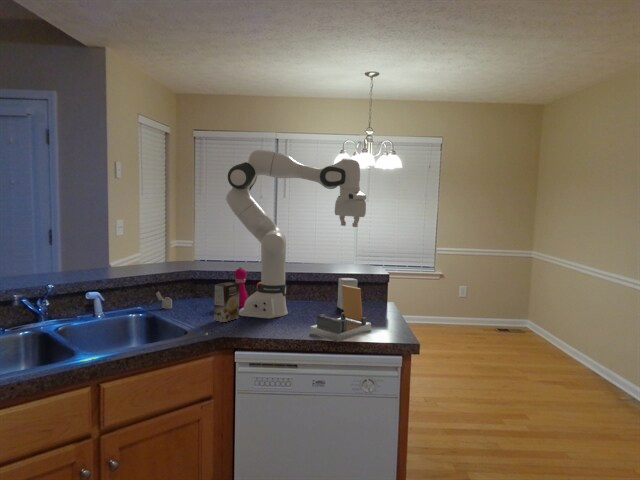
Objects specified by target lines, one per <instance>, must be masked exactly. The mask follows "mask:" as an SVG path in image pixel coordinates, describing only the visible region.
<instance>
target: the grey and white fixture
mask: <svg viewBox="0 0 640 480" xmlns="http://www.w3.org/2000/svg"><path fill="white" fill-rule="evenodd" d="M371 330H372V323H371V322H367V317H363V318H362V319H361V322H359V321H355V320H352V319H348V318H344V311H343V312H341V313H340V317H339V318H334V317H331V316H326V314H324V313H322V314H318V315H316V324H313V325H311V326H310V332H309V333H311V334H310V335H313V334H314V335H313V336H316V335H317V336H316V337H319V336H320V338H323V337H324V338H323V339H326V338H327V339H326V340H330V341H332V342H336V343H339V342H342V341H344V339H345V340H347V339H350V338H352V337H355V336H358V335H361V334H363V333H364V334H365V333H367V332H369V331H371Z"/></svg>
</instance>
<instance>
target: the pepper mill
mask: <svg viewBox="0 0 640 480" xmlns="http://www.w3.org/2000/svg"><path fill="white" fill-rule="evenodd" d="M247 275H248V274H247V271H246V269H243V266H242V265H239V266H238V268H237V269H236V270H235V271H234V277H235V282H234V283H239V308H244V304H245V301H246V299H247V298H248V297H249V296H248V292H247V290H246V286H245V283H246V280H247V279H246V277H247Z"/></svg>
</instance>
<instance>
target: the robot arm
mask: <svg viewBox="0 0 640 480" xmlns="http://www.w3.org/2000/svg"><path fill="white" fill-rule="evenodd" d="M247 160H248V161H246V162H241V163H239V164H235V165H234V166H232V167H231V168H230V169H229V170H228V173H227V181H228V184H229V185H230V186H231V187H232V188H231V189H230V190H229V191H228V192H227V194H226V197H225V200H226V202H227V205H228V206H229V208H230V209H231V211H232V213H234V215H235V217H237V218H238V220H239V221H240V222H241V223H242V225H243V226H244V227H245V228H246V230H247V231H248V232H249V233H251V235H252V236H254V237H255V238H256V240H258V242H259V243H260V244H261V245H260V256H261V257H260V260H261V261H260V263H261V266H260V267H261V270H260V272H261V274H260V275H261V277H260V280H261V281H259V282H258V283H257V284H256V291H255V292H253V293H252V294H251V295H249V296H248V298H247V299H246V301H245V304H244V307H241V308H239V316H241V317H250V318H252V317H253V318H261V319H273V318H279V317H284V316H286V315H288V313H289V312H288V307H287V303H286V295H287V283H286V261H287V260H286V259H287V258H286V254H287V253H286V250H287V240H286V239H287V237H286V236H285V234H284V232H283V231H282V230H281V229H280V228H279V227H278V225H277V224H276V223H275V222H274V221H273V220H272V218H270V217H269V216H268V215H267V213H266V212H265V210H264V209H263V208H262V207H261V205H260V204H259V203H257V201H256V200H255V199H254V197H253V196H252V195H251V193H250V191H251V190H252V188H253V186H254V185H255V183H256V182H257V177H258V176H266V177H271V178H276V179H303V180H307V181H311V182H315V183H318V184H319V185H321V186H322V187H324V188H325V189H329V190H333V189H336V188H338V187H339V195H338V196H337V197H336V200H335V205H334V215H335V216H339V217H338V218H339V221H340V226H341V227H343V226H344V227H345V226H346V225H347V223H346V220H345V217H353V222H352V224H351V225H352V227H353V228H357V227H358V224H359V222H360V218H364V217H365V216H366V214H367V213H366V212H367V203H366V200H367V195H366V193H365V194H364V193H363V192H361V191H360V190H361V188H360V181H361V168H360V167H361V166H360V163H359V161H357V160H356V159H353V158H352V159H351V158H342V159H340V161H338V162H336V163H333V164H331V165H328V166H327V165H326V166H325V167H324V168H318V167H314V166H309V165H305V164H302V163H300V162H298V161H297V160H295V159H294V158H292V157H291V156H289V155H286V154H284V153H281V152H278V151H272V150H263V149H261V150H260V149H255V150H253V151H252V152H251V153H250V155H249V157H248V159H247Z"/></svg>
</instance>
